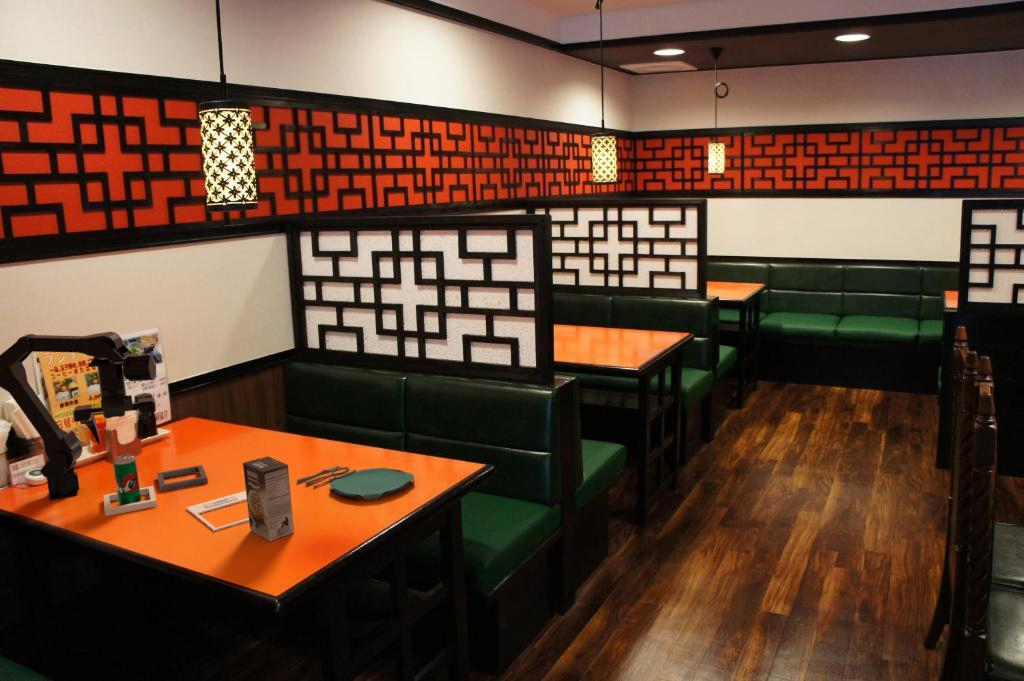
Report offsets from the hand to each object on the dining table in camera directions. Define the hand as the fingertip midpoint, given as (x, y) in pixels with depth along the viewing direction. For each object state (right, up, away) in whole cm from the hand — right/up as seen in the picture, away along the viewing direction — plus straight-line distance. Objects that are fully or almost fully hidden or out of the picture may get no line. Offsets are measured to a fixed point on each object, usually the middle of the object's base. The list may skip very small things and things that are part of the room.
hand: (119, 441), depth 212 cm
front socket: (+7, -14, -8) cm, 18 cm away
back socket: (+14, -11, +7) cm, 19 cm away
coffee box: (+47, -17, -28) cm, 58 cm away
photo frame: (+34, -15, -15) cm, 40 cm away
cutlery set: (+62, -11, 0) cm, 63 cm away
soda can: (+6, -15, -8) cm, 18 cm away
